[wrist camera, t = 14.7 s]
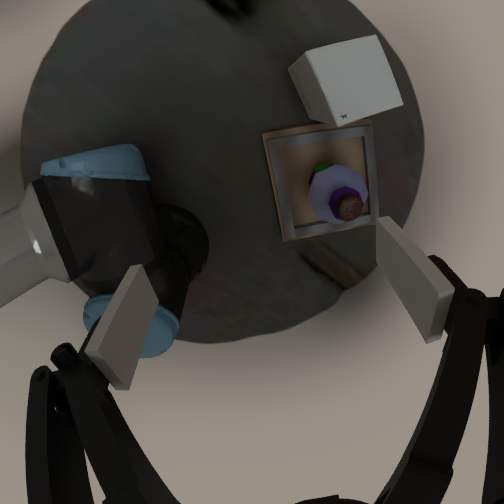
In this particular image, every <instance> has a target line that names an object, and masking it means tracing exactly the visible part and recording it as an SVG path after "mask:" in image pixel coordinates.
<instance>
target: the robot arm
mask: <svg viewBox="0 0 504 504" xmlns="http://www.w3.org/2000/svg"><path fill="white" fill-rule="evenodd" d="M40 174H41V175H43V177H42V178H40V179H38V180H36V181H34V182H31V183H29V184H28V186H27V188H26V191H25V193H24V196H23V198H22V201H21V202H20V203H19V205H17V206H15V207H13V208H11V209H9V210H7V211H6V212H4V213H2V214H0V308H1V307H3V306H4V305H6V304H8V303H9V302H11V301H12V300H14V299H15V298H17V297H18V296H20V295H22V294H23V293H25V292H27V291H28V290H30V289H31V288H33V287H35V286H36V285H38V284H40V283H41V282H43V281H45V280H46V279H48V278H54V279H57V280H60V281H63V282H66V283H69V282H71V281H73V280H74V279H76V278H78V277H79V276H80V277H81V279H82V281H83V284H84V286H85V288H86V290H87V292H88V294H89V298H90V299H89V300H88V301H87V302H86V303H85V306H84V313H83V321H84V324H85V326H86V328H87V330H88V332H89V333H88V335H87V337H86V339H85V341H84V343H83V345H82V347H81V349H80V351H79V353H77V351H76V350H75V349H74V347H73V346H72V345H71V343H68V342H67V343H63V344H61V345H59V346H58V347H56V348H55V349H54V351H53V352H52V354H51V358H50V360H51V361H52V362H53V363H54V365H55V366H56V367H57V368H58V369H59V370H57V371H54V372H52V371H51V370H50V369H49V368H48V366H40V367H39V368H37V369H36V370H35V371H34V373H33V374H32V376H31V381H30V388H29V397H28V407H27V420H26V444H25V446H26V447H25V448H26V449H25V459H26V460H25V461H26V484H27V496H28V504H94V501H93V496H92V492H91V487H90V482H89V477H88V471H87V466H86V459H85V452H84V449H85V451H86V454H87V456H88V459H89V461H90V464H91V466H92V468H93V471H94V473H95V475H96V477H97V479H98V481H99V484H100V486H101V488H102V490H103V492H104V494H105V496H106V499H105V500H104V501H102V502H103V503H102V504H181V503H179V502H178V501H177V500H176V498H175V497H174V496H173V495H172V493H171V492H170V490H169V489H168V488H167V486H166V485H165V484H164V482H163V481H162V479H161V478H160V476H159V475H158V474H157V472H156V471H155V469H154V468H153V466H152V465H151V463H150V462H149V460H148V458H147V457H146V455H145V454H144V452H143V450H142V449H141V447H140V446H139V444H138V442H137V441H136V439H135V437H134V435H133V434H132V432H131V430H130V429H129V427H128V425H127V423H126V421H125V419H124V418H123V416H122V414H121V412H120V410H119V408H118V406H117V404H116V402H115V400H114V398H113V396H112V394H111V392H110V391H109V390H108V389H107V388H108V385H109V383H110V384H111V385H112V386H113V387H114V388H115V389H116V390H129V388H130V385H131V382H132V379H133V376H134V373H135V369H136V366H137V363H138V360H139V358H151V357H155V356H158V355H161V354H163V353H164V352H166V350H167V349H168V348H170V347H171V345H172V343H173V341H174V339H175V336H176V334H177V332H178V330H179V326H180V325H179V322H180V318H181V314H182V310H183V306H184V302H185V299H186V295H187V291H188V287H189V284H190V283H191V282H192V281H193V280H194V279H195V278H196V277H197V276H198V275H199V274H200V273H201V271H202V270H203V268H204V266H205V264H206V261H207V257H208V252H209V241H208V237H207V234H206V231H205V229H204V227H203V226H202V224H201V223H200V222H199V221H198V219H197V218H196V217H195V216H193V215H192V214H191V213H189V212H188V211H186V210H184V209H182V208H180V207H177V206H173V205H167V204H160V205H155V201H154V197H153V193H152V189H151V185H150V180H151V179H150V177H149V176H148V175H147V171H146V168H145V164H144V161H143V157H142V154H141V152H140V150H139V149H138V148H137V147H136V146H134V145H132V144H120V145H115V146H110V147H105V148H100V149H95V150H91V151H86V152H82V153H78V154H74V155H70V156H66V157H62V158H58V159H54V160H51V161H47V162H44V163H43V164H42V165H41V171H40ZM376 262H377V264H378V265H379V267H380V268H381V270H382V271H383V273H384V274H385V276H386V277H387V279H388V281H389V282H390V284H391V285H392V287H393V288H394V290H395V292H396V293H397V295H398V296H399V298H400V300H401V301H402V303H403V304H404V306H405V308H406V309H407V311H408V313H409V314H410V316H411V318H412V320H413V321H414V323H415V325H416V326H417V328H418V330H419V332H420V333H421V335H422V337H423V338H424V340H425V342H426V344H427V343H430V342H433V341H436V340H439V339H441V337H442V333H443V330H445V331H446V333H447V334H448V337H447V340H446V343H445V345H444V348H443V354H442V358H441V361H440V364H439V367H438V371H437V374H436V377H435V380H434V383H433V386H432V388H431V391H430V394H429V397H428V400H427V402H426V405H425V408H424V410H423V412H422V415H421V417H420V419H419V422H418V424H417V427H416V429H415V431H414V433H413V436H412V438H411V440H410V442H409V444H408V446H407V448H406V450H405V452H404V454H403V456H402V458H401V460H400V462H399V464H398V466H397V468H396V469H395V471H394V473H393V475H392V476H391V478H390V480H389V481H388V483H387V484H386V486H385V487H384V489H383V490H382V492H381V494H380V495H379V497H378V498H377V500H376V501H375V503H374V504H440V503H441V501H442V499H443V497H444V495H445V493H446V491H447V488H448V486H449V484H450V481H451V478H452V476H453V468H452V465H453V462H454V459H455V457H456V454H457V451H458V449H459V446H460V443H461V440H462V437H463V434H464V431H465V428H466V424H467V421H468V417H469V414H470V410H471V406H472V403H473V399H474V395H475V390H476V386H477V381H478V376H479V371H480V366H481V359H482V353H483V347H484V345H485V350H486V359H487V369H488V384H489V441H488V454H487V464H486V472H485V480H484V486H483V495H482V504H504V288H503V289H502V292H501V294H500V297H486V296H485V294H484V293H483V292H481V291H480V290H477V289H471V288H469V289H468V287H467V286H466V285H465V284H464V283H463V282H462V281H461V279H460V278H459V277H458V276H457V275H456V274H455V273H454V272H453V270H452V269H451V268H450V267H448V265H447V264H446V263H445V262H444V261H443V260H442V259H441V258H439V257H437V256H435V255H430V256H426V254H424V252H423V251H422V250H421V249H420V248H419V247H418V246H417V245H416V244H415V243H414V242H413V241H412V240H411V238H410V237H409V236H408V235H407V234H406V233H405V232H403V230H402V229H401V228H400V227H399V226H398V225H397V224H396V223H395V222H394V221H393V220H392V219H391V218H390V217H389V216H386V217H381V218H376ZM55 408H56V410H55ZM295 504H368V503H365V502H362V501H358V500H352V499H339V496H338V495H333V496H327V497H322V498H316V499H310V500H304V501H301V502H298V503H295Z"/></svg>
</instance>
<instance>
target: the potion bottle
mask: <svg viewBox="0 0 504 504" xmlns="http://www.w3.org/2000/svg"><path fill="white" fill-rule="evenodd" d="M309 184H310V188H309V190H308V200H309V202H310V204H311V206H312V208H313V210H314V212H315V214H316V216H317V218H318V219H321V220H324V221H327V222H331V223H334V224H337V225H340V224H342V223H344V222H349V221H353V220H355V219H356V218H357V217H359V215H360V214H361V211H362V208H363V205H364V203H365V201H366V198H367V196H368V191H367V189H366V186H365V183H364V181H363V178H362V176H361V173H360V172H357V171H355V170H352V169H349V168H347V167H344V166H341V165H339V164H331V163H324V164H321V165H320V166H318V167H316V168H315V169H314V170H313V173H312V175H311V178H310V181H309Z"/></svg>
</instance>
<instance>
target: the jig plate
mask: <svg viewBox="0 0 504 504" xmlns="http://www.w3.org/2000/svg"><path fill="white" fill-rule="evenodd" d="M261 134H262V139H263V143H264V148H265V153H266V157H267V162H268V167H269V172H270V177H271V181H272V186H273V191H274V196H275V201H276V206H277V212H278V217H279V222H280V227H281V233H282V238H283V242H285V241H290V240H295V239H300V238H306V237H311V236H316V235H321V234H326V233H332V232H337V231H342V230H347V229H353V228H358V227H363V226H368V225H373V224H376V218H379V205H378V184H377V169H376V157H375V147H374V137H373V129H372V121H371V118H367V117H365V118H362V119H359V120H356V121H354V122H351V123H348V124H345V125H342V126H340V127H337V126H334V125H331V124H327V123H323V122H320V123H313V124H306V125H300V126H294V127H288V128H282V129H276V130H271V131H266V132H261ZM324 163H331V164H339V165H341V166H344V167H347V168H349V169H352V170H355V171H357V172H360V173H361V176H362V178H363V181H364V183H365V186H366V189H367V191H368V196H367V198H366V201H365V203H364V205H363V208H362V211H361V214H360V215H359V217H357V218H356V219H355V220H353V221H349V222H344V223H342V224H340V225H337V224H334V223H331V222H327V221H324V220H321V219H318V218H317V216H316V214H315V212H314V210H313V208H312V206H311V204H310V202H309V200H308V190H309V188H310V184H309V181H310V178H311V175H312V173H313V170H314V169H315V168H316V167H318V166H320V165H321V164H324Z"/></svg>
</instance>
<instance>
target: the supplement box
mask: <svg viewBox="0 0 504 504" xmlns="http://www.w3.org/2000/svg"><path fill="white" fill-rule="evenodd" d="M287 70H288V72H289V74H290V76H291V79H292V81H293V83H294V85H295V87H296V89H297V92H298V94H299V96H300V98H301V100H302V103H303V105H304V107H305V110H306V112H307V114H308V116H309V118H310V119H312V120H316V121H320V122H323V123H327V124H331V125H334V126H337V127H340V126H342V125H345V124H348V123H351V122H354V121H356V120H359V119H362V118H365V117H368V116H371V115H374V114H377V113H380V112H383V111H386V110H389V109H392V108H395V107H398V106H402V105H403V102H402V99H401V96H400V93H399V90H398V87H397V84H396V82H395V79H394V76H393V74H392V71H391V68H390V66H389V63H388V61H387V58H386V56H385V54H384V51H383V49H382V47H381V45H380V42H379V40H378V38H377V36H376V35H372V36H367V37H362V38H357V39H353V40H348V41H344V42H339V43H335V44H331V45H327V46H323V47H319V48H316V49H312V50H309V51H306V52H305V53H304V54H303V55H302V56H301V57H300V58H298V59H297V60H296V61H295V62H294V63H293V64H292V65H291V66H290V67H288V68H287Z"/></svg>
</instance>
